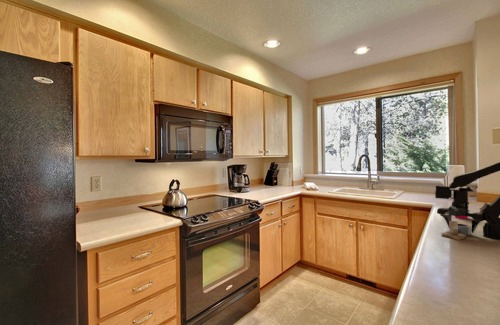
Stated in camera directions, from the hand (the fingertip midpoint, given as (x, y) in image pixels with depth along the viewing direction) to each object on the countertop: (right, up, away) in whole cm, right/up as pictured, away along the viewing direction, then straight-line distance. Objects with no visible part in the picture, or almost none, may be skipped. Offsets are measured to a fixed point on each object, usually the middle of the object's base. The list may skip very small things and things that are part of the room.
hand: (460, 230), depth 123 cm
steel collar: (0, -1, 0) cm, 1 cm away
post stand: (-8, -1, -6) cm, 10 cm away
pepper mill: (+27, -1, +31) cm, 42 cm away
